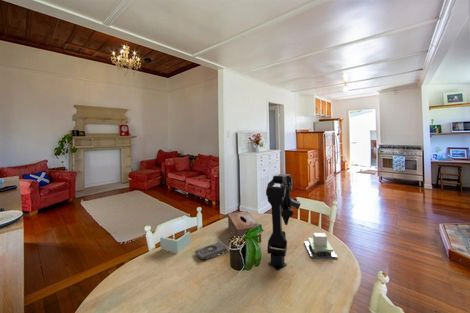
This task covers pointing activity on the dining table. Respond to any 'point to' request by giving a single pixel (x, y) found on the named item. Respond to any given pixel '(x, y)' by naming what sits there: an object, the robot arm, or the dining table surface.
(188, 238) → the right angle wall
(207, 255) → the graphics card
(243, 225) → the tissue box cover
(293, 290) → the dining table surface
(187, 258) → the dining table surface
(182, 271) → the dining table surface
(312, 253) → the chassis plate
